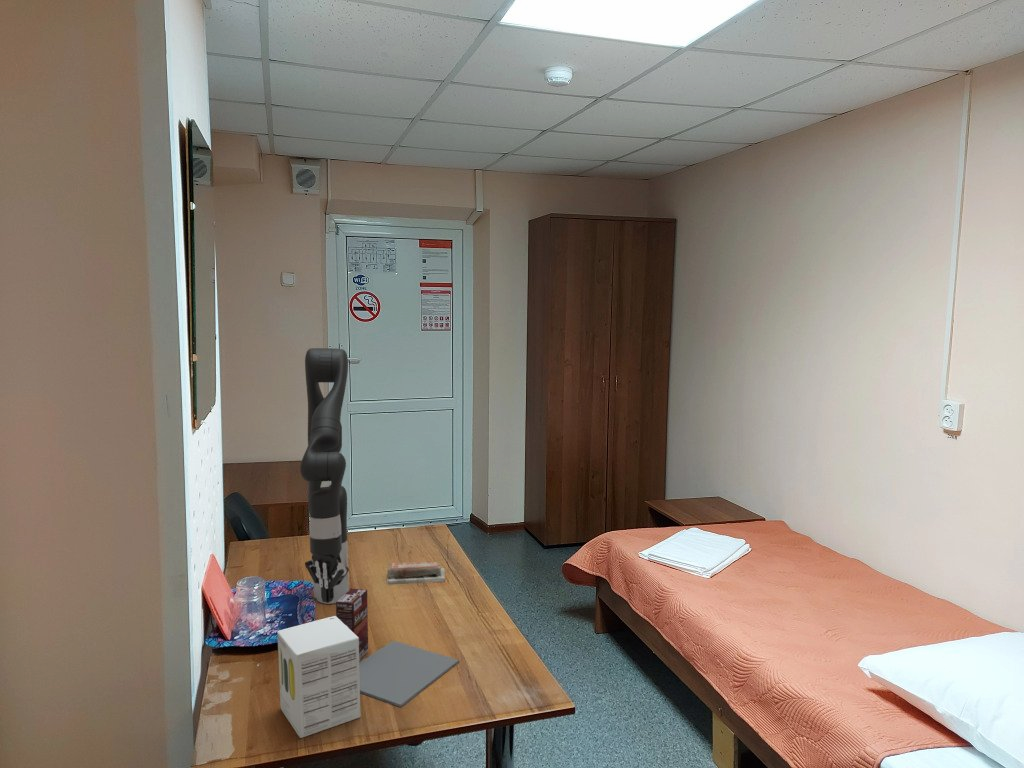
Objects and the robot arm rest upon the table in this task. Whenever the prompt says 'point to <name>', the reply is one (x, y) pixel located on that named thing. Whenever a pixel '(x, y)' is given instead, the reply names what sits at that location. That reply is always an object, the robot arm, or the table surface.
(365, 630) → the supplement box
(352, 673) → the supplement box
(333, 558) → the robot arm
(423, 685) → the mat
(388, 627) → the table surface
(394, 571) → the packaged product
